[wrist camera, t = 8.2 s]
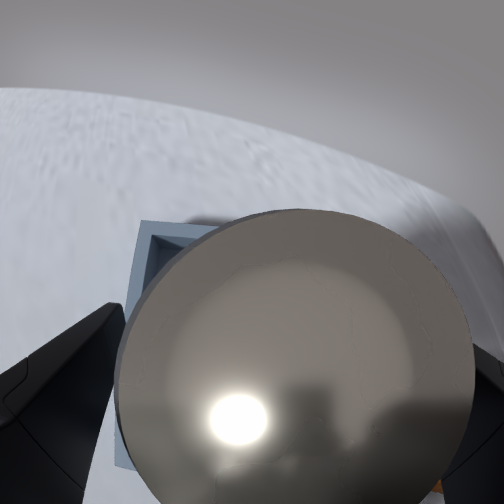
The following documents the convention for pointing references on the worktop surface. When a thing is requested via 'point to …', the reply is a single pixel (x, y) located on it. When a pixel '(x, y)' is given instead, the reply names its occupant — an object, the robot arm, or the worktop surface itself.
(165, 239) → the bin
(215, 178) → the worktop surface
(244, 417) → the canister
